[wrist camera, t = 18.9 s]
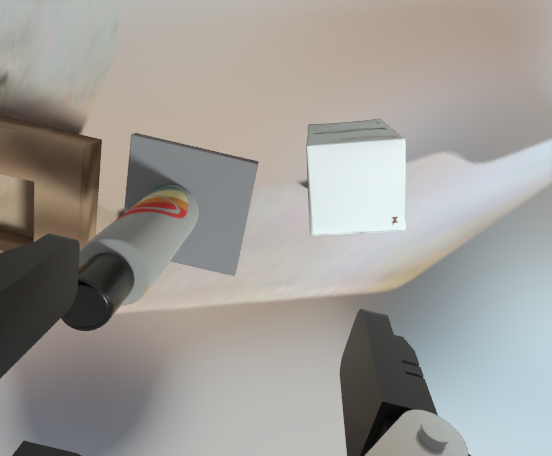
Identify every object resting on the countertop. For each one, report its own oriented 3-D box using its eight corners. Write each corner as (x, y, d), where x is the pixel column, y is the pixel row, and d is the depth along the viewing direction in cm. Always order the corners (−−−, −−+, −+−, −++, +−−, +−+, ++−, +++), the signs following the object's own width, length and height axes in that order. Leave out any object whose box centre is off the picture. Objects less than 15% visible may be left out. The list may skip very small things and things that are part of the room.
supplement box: (382, 116, 42) (410, 136, 30) (381, 190, 44) (407, 234, 32) (306, 122, 42) (305, 143, 31) (310, 193, 45) (310, 239, 33)
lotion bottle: (157, 174, 44) (46, 253, 26) (208, 198, 45) (134, 291, 26) (140, 220, 46) (25, 325, 28) (188, 242, 47) (108, 359, 28)
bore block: (-67, 100, 45) (-102, 103, 41) (101, 139, 45) (82, 146, 41) (-56, 253, 51) (-85, 268, 47) (91, 287, 51) (74, 304, 47)
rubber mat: (135, 133, 44) (131, 134, 43) (258, 161, 44) (257, 164, 43) (125, 245, 49) (120, 249, 48) (236, 271, 49) (234, 276, 48)
